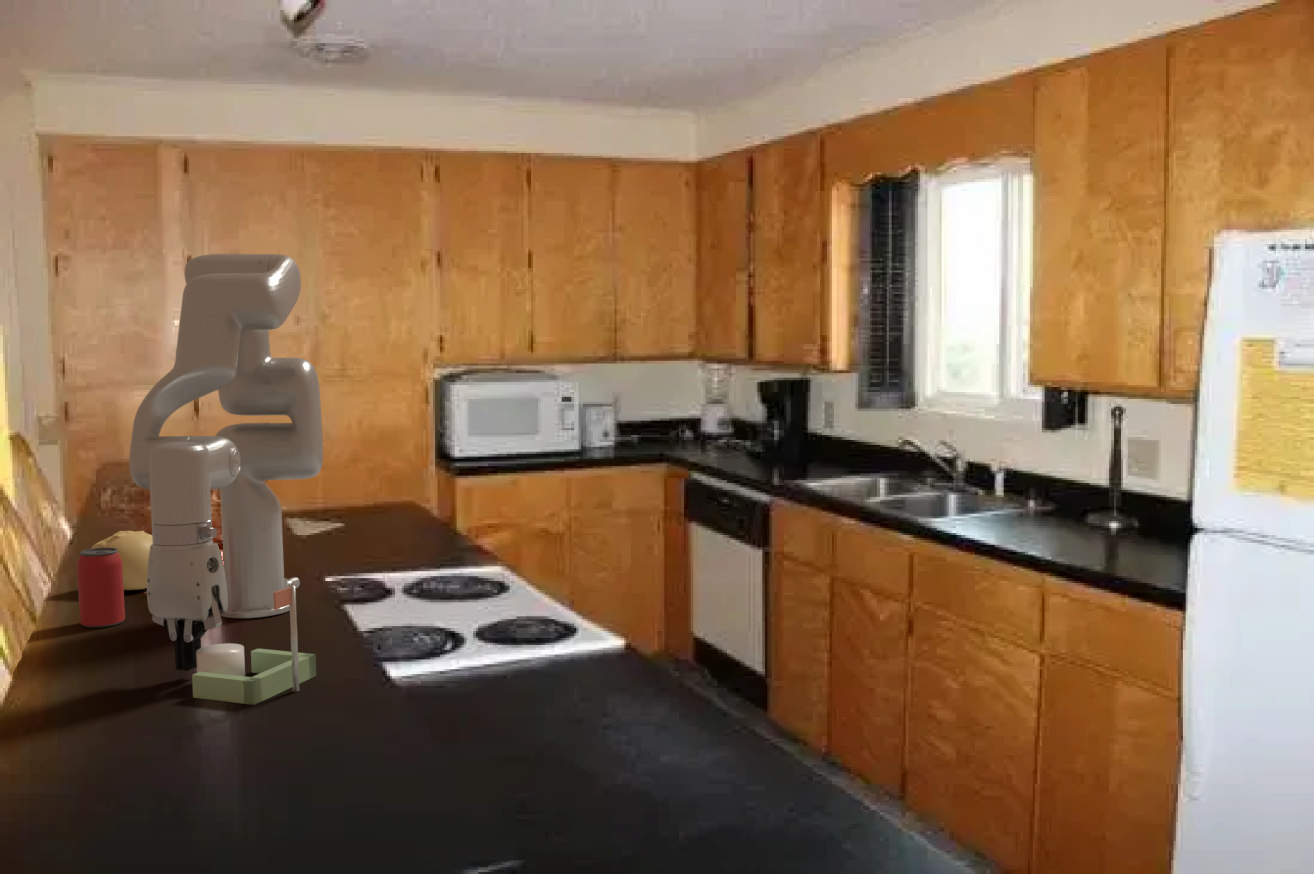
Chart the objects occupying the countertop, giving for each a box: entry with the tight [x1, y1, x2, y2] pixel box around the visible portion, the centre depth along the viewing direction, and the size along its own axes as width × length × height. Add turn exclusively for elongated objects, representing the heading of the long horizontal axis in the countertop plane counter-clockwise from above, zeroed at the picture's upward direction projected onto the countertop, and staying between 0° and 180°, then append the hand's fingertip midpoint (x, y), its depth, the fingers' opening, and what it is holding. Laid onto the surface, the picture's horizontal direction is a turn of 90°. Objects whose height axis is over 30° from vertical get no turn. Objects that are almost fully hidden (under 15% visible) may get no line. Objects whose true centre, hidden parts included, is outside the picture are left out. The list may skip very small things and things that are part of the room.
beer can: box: [76, 548, 126, 629], centre depth 189 cm, size 7×7×12 cm
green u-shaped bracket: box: [191, 585, 317, 706], centre depth 155 cm, size 13×11×14 cm
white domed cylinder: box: [196, 642, 246, 677], centre depth 158 cm, size 6×6×4 cm
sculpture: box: [90, 530, 153, 591], centre depth 215 cm, size 12×12×11 cm
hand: (188, 667), depth 159 cm, fingers closed
